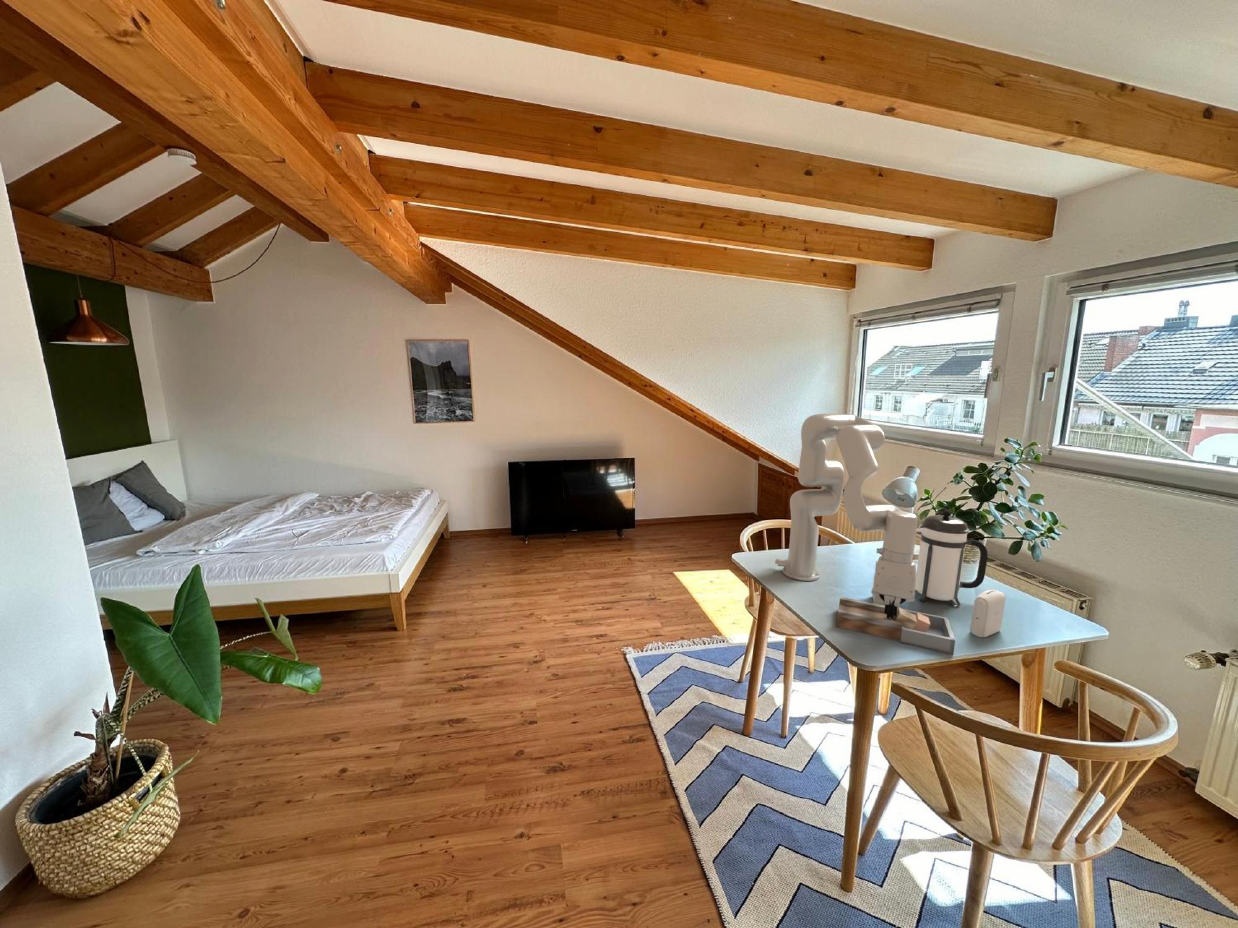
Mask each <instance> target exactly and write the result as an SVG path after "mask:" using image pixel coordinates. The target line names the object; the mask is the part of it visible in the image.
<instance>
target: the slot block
mask: <svg viewBox="0 0 1238 928" xmlns="http://www.w3.org/2000/svg"><path fill="white" fill-rule="evenodd" d="M884 610H885V606H884V605H879V604H874V602H868V601H863V600H858V599H853V598H848V597H844V596H843V597H842V596H840V597H839V605H838V611H837V619H836V627H837V628H841V629H845V630H849V631H854V632H859V633H863V634H867V635H872V636H874V637H875V636H876V637H880V638H885V639H890V640H894V641H898V642H900V639H901V629H902V623H901V622H896V621H895V620H894V617H893V619H891V618H887V614H884ZM897 610H898V608H897Z"/></svg>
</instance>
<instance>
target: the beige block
mask: <svg viewBox="0 0 1238 928" xmlns="http://www.w3.org/2000/svg"><path fill="white" fill-rule="evenodd" d="M904 609H905V608H901V607H899V608H898V610H897V615H896V616H894V620H895V621H896V622H901V623H902V626H903V627H905V628H907V629H911V630H913V628H914V626H915V625H916V623H917V620H916V615H914V614H912V613H910V612H908V611H906V610H907V609H906V610H904Z"/></svg>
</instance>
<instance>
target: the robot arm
mask: <svg viewBox="0 0 1238 928" xmlns="http://www.w3.org/2000/svg"><path fill="white" fill-rule="evenodd" d="M800 430H801V431H800V439H801V450H800V456H799V457H800V458H799V465H798V472H797V479H798V482H799V484H800V485H801V486H804V487H806V488H808V487H809V488H814V489H800V490H797V491H795V492H794V493H792V495H791V496H790V499H789V509H790V530H789V531H790V533H789V535H790V536H789V547H788V557H787V559H780V558H775V563H774V564H776V565H777V566H778V567H783V568H782V573H783V575H784V576H787V577H788V578H791V579H792V580H793V579H794V580H798V581H806V582H807V581H808V582H812V581H816V580H819V578H820V572H819V571H818V570H817V569H816V567H817V565H816V563H817V556H818V555H817V554H818V544H819V534H820V533H819V531H820V529H819V525H818V522H817V521H816V519H815V517H821V516H832V515H835V514H836V513H838V511H839V509H840V507H841V503H842V501H843V506H844V509H845V512H846V515H847V517H848V520H849V522H850V524H851V525H852V527H853V528H854V529H856V530H857V531H859V532H865V533H867V532H879V531H882V532H883V531H884V535H883V544H882V547H881V548H880V547H879V548H876V554H879V555H880V556H879V557H878V560H877V561H878V562H877V566H876V565H875V567H876V569H875V568H874V574H873V575H874V576H873V584H872V585H873V586H872V587H871V590H870V591H871V594H874V595H876V596H879V597H880V598H881V599H882V600H883V601H884V602H885V610H884V614H887V618H891V619H893V617H894V616H896V615H897V607H898V606H899V605H900V606H901V605H902V604H903V603H907V602H908V603H911V602H915V594H916V590H915V587H916V573H917V565H916V563H915V561H914V553H915V545H916V544H915V543H916V537H917V528H918V516H917V515H916V514H914V513H913V512H909V511H905V510H902V509H900V508H899V507H897V506H895V505H892V504H889V503H888V504H886V503H885V504H883V503H882V504H866V503H865V499H864V496H863V491H862V489H863V484H864V483H865V481H866V480H868V479H870V478H872V477H874V476H875V475H877V473H878V472H879V468H880V467H879V465H878V463H877V459H876V457H875V454H874V452H876V451H879V450H880V449H882V448H883V447H884V445H885V441H886V438H885V434H884V431H883V430H882V428H881V427H879V426H878V425H877V424H875V423H873V422H872V421H868V420H867V419H864V418H862V417H860V416H858V415H856V414H852V413H816V414H813V415H810V416H808V417H806V419H804V421H803V423H802V425H801V429H800ZM825 440H836V442H837V446H838V449H839V451H840V454H841V456H842V460H843V463H844V465H845V468H846V471H847V474H848V478H847V481H846V483H845V478H846V477H845V476H846V475H845V469H844V466H843V465H842V463H841V462H840V461H838V460H836V459H828V451H829V449H828V446H827V443H826V441H825ZM844 485H845V486H844ZM816 487H817V488H818V489H817V488H816ZM819 487H820V488H819ZM815 488H816V489H815ZM842 497H843V498H842ZM889 596H893V597H895V598H894V601H893V602H892V603H891V601H890V600H889Z"/></svg>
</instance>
